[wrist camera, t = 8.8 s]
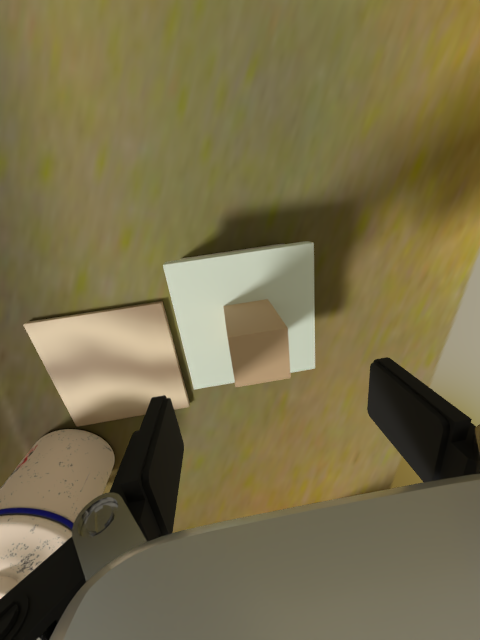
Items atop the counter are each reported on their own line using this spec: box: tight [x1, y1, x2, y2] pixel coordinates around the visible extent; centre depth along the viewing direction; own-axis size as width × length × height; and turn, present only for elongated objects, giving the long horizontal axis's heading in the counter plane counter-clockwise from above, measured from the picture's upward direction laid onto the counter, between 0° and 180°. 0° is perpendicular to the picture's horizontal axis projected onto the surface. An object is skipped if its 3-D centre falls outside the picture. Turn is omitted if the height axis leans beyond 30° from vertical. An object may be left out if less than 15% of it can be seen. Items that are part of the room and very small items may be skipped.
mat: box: [23, 301, 190, 427], centre depth 24 cm, size 12×12×1 cm
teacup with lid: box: [0, 429, 115, 599], centre depth 24 cm, size 12×9×12 cm
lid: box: [163, 241, 315, 389], centre depth 16 cm, size 10×10×6 cm
